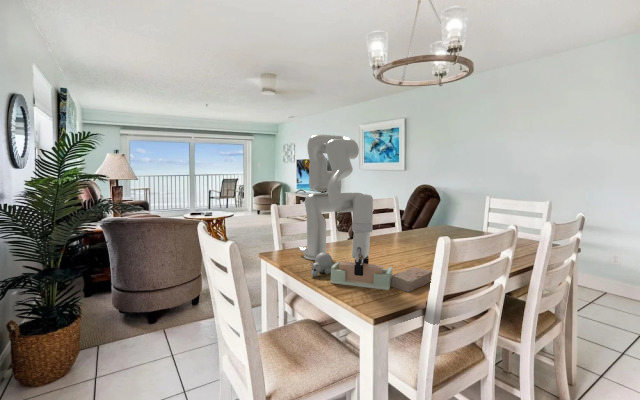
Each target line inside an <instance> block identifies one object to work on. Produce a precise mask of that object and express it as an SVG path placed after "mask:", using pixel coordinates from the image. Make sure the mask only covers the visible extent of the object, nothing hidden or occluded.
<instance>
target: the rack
mask: <svg viewBox="0 0 640 400" xmlns="http://www.w3.org/2000/svg"><path fill="white" fill-rule="evenodd" d="M340 263H341V262H340V261H336V262H335V263H333V264H334V265H333V266H332V267H331V273H330V284H338V285H345V286H353V287H360V288H369V289H377V290H385V291H390V289H391V278H392V275H393V267H392V266H388V268H383V274H374V283H367V282H358V281H349V280H346V270H339V264H340Z"/></svg>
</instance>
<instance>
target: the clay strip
mask: <svg viewBox="0 0 640 400" xmlns="http://www.w3.org/2000/svg"><path fill="white" fill-rule="evenodd" d="M354 265H355V262H353V261H341V262H340V264H339V270H346V280H349V281H358V282H367V283H374V274H383V269H384V268H383V267H384V266H383V264H376V263H375V264H374V263H369V264H364V263H363V264H362V265H363V276H357V275H354Z"/></svg>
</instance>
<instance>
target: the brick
mask: <svg viewBox="0 0 640 400" xmlns="http://www.w3.org/2000/svg"><path fill="white" fill-rule="evenodd" d="M431 275H432V276H433V272H432V270H430V269H425V268H420V267H415V266H412V267H410V268H408V269H406V270H403V271H401V272H396V273H395V274H392V278H391V286H390V288H391V287H392V288H395V289H397V290H401V291H403V292H408V293H410V292H412V291H414V290H417V289H418V287H419V288H420V287H423V286H425V285H427V283H428V284H429V283H431V281H432V279H431ZM430 280H431V281H430Z"/></svg>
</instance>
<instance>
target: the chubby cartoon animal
mask: <svg viewBox="0 0 640 400" xmlns="http://www.w3.org/2000/svg"><path fill="white" fill-rule="evenodd" d="M334 264H335V263H333V258H332V256H331V255H330V254H329V253H328V252H326V253H325V252H322V253H319V254H318V255H317V256H316V258H315V260H314V263H313V262H310V265H311V270H310V274H311V276H312V277H314V278H316V277H318V275H319V273H325V275H329V274H331V267H332V266H333V265H334Z"/></svg>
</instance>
